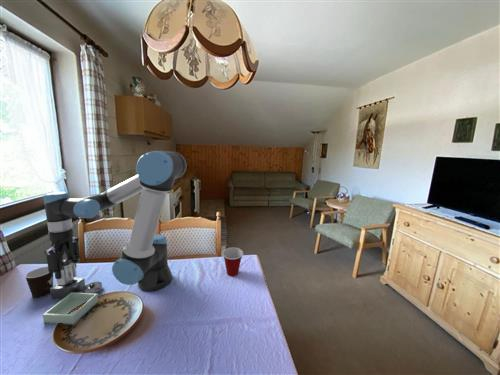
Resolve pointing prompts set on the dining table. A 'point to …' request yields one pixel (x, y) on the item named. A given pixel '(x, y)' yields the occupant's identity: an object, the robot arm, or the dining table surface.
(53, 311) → the tray
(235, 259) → the plastic cup
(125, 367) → the dining table surface
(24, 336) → the dining table surface
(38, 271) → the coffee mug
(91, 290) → the pulley wheel
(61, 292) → the block
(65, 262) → the clear bottle
